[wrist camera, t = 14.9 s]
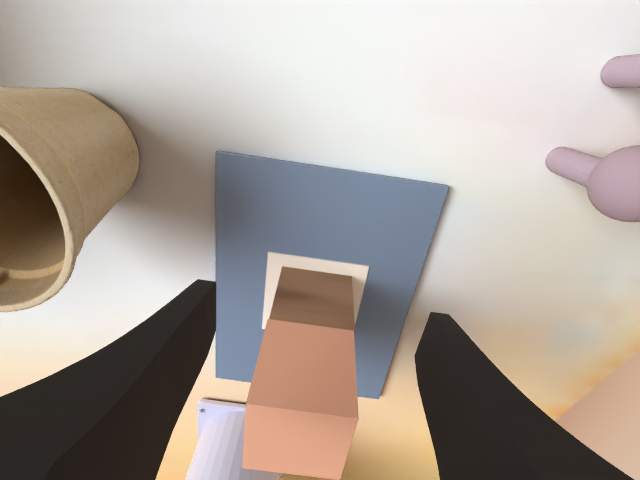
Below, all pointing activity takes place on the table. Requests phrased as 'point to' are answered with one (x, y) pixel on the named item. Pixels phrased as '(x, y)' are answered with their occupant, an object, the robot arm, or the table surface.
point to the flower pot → (55, 185)
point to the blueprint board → (317, 252)
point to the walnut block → (314, 299)
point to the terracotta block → (302, 401)
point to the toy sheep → (607, 157)
